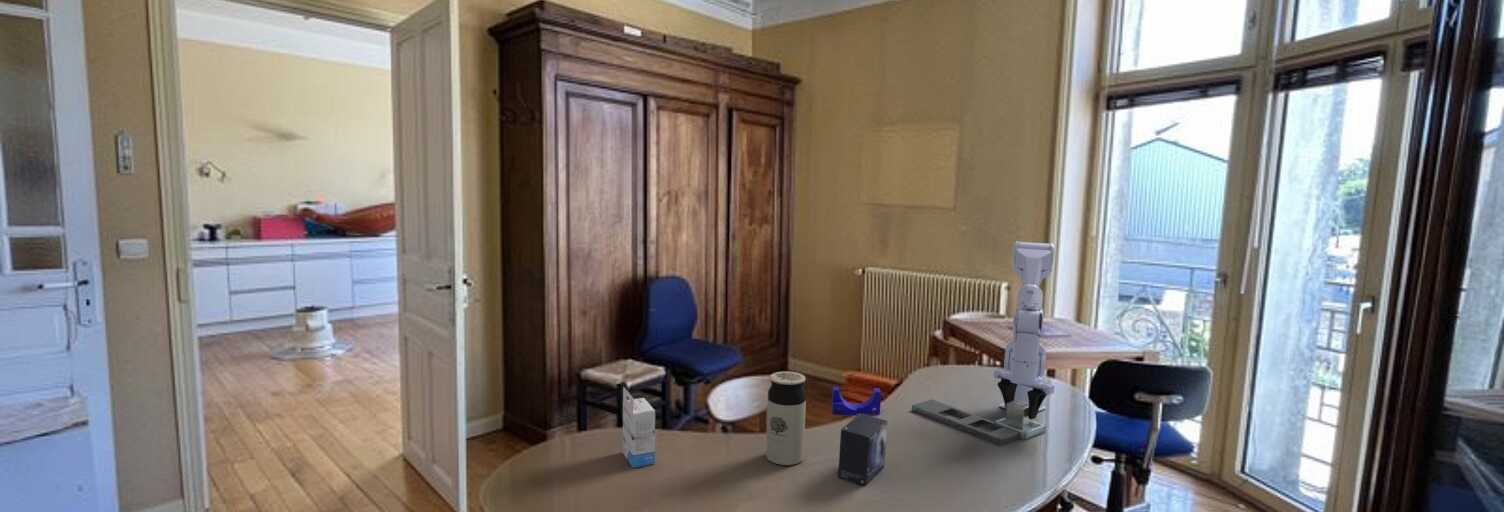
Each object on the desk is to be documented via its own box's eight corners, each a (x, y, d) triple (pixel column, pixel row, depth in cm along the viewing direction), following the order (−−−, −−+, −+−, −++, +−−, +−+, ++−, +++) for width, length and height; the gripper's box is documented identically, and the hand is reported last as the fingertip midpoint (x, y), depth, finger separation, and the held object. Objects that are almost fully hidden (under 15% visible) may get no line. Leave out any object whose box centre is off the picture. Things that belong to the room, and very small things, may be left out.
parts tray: (1013, 420, 166) (1013, 414, 166) (1045, 431, 160) (1045, 425, 159) (993, 427, 161) (993, 421, 161) (1025, 439, 155) (1026, 433, 154)
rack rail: (931, 404, 176) (932, 399, 176) (1021, 437, 156) (1021, 432, 155) (911, 410, 172) (912, 405, 172) (1001, 445, 151) (1001, 439, 151)
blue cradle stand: (832, 415, 168) (833, 392, 167) (831, 408, 172) (832, 386, 171) (880, 417, 167) (881, 394, 166) (878, 410, 171) (879, 388, 171)
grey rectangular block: (1015, 423, 163) (1017, 398, 162) (1032, 429, 160) (1034, 404, 159) (1004, 427, 161) (1006, 402, 160) (1022, 433, 157) (1024, 408, 156)
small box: (867, 487, 130) (869, 436, 128) (836, 478, 133) (838, 428, 132) (886, 467, 139) (889, 419, 137) (857, 459, 142) (859, 412, 141)
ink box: (656, 464, 137) (656, 396, 135) (632, 468, 135) (632, 399, 133) (644, 448, 145) (644, 383, 143) (621, 452, 143) (621, 386, 141)
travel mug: (783, 447, 147) (786, 368, 145) (811, 458, 142) (814, 377, 139) (758, 457, 142) (760, 376, 139) (786, 470, 136) (788, 385, 134)
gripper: (988, 354, 162) (984, 408, 163) (1044, 370, 150) (1039, 427, 152) (1005, 350, 166) (1001, 402, 167) (1061, 365, 154) (1056, 421, 156)
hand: (1020, 414), depth 160 cm, fingers open, 5 cm apart
